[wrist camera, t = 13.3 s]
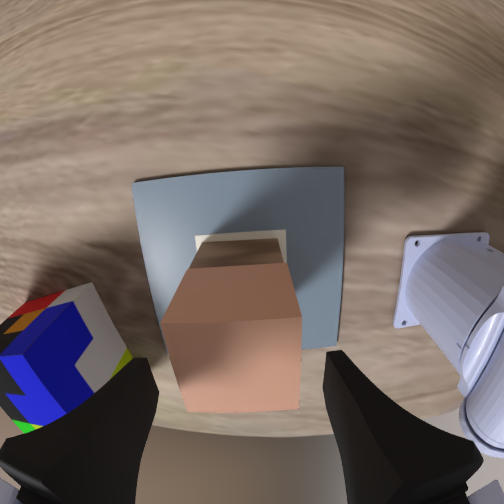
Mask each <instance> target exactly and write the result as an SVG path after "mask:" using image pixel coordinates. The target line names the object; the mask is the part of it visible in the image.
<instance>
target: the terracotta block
mask: <svg viewBox="0 0 504 504" xmlns="http://www.w3.org/2000/svg"><path fill="white" fill-rule="evenodd" d="M160 325H161V329H162V332H163V336H164V339H165V343H166V347H167V350H168V353H169V357H170V360H171V364H172V367H173V370H174V373H175V376H176V379H177V383H178V386H179V389H180V392H181V395H182V398H183V400H184V403H185V406H186V409H187V412H261V411H277V410H289V409H299V395H300V374H301V344H302V315H301V311H300V307H299V304H298V300H297V297H296V293H295V289H294V286H293V282H292V279H291V275H290V272H289V268H288V265H287V263H272V264H257V265H242V266H226V267H210V268H193V269H187V270H186V272H185V274H184V276H183V278H182V280H181V282H180V284H179V286H178V288H177V290H176V292H175V294H174V296H173V298H172V300H171V302H170V304H169V306H168V308H167V310H166V312H165V314H164V316H163V318H162V320H161V322H160Z"/></svg>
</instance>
